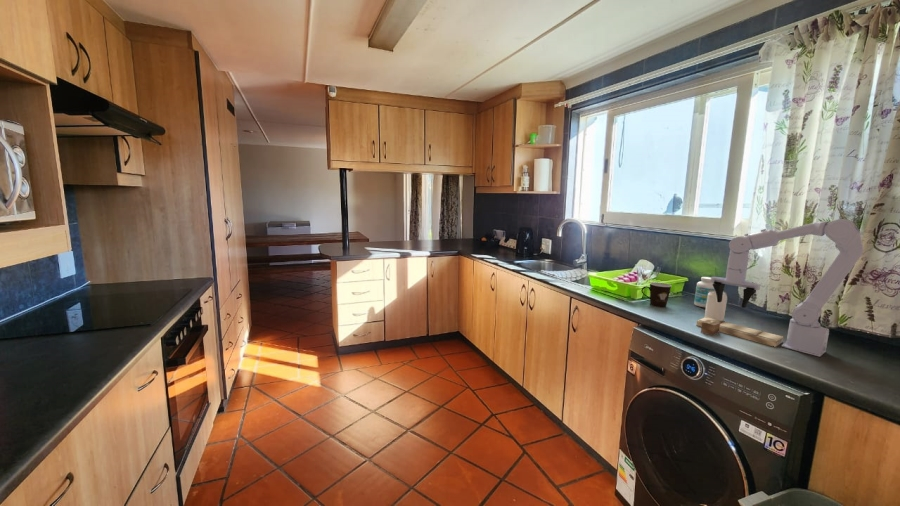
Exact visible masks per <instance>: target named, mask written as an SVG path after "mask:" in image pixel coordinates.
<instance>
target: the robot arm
mask: <svg viewBox="0 0 900 506" xmlns="http://www.w3.org/2000/svg"><path fill="white" fill-rule="evenodd" d="M808 235H812V236H818V237H823V236H824V235H826V237H827V238H828V239H830V240H831V241H832V242H833V243H834V244H835V246H836V248H837V249H838V251H839V253H838V255H837V256H836V257H835V259H834V260H833V261H832V263H831V264H830V266H829V267H828V268H827V270H826V271H825V273H823V275H822V276H821V278H820V279H819V280H818V282H817V283H816V285H815V286H814V287H813V289H812V290H811V292H810V293H809V295H808V296H807V297H806V299H805V300H803V301H802V302H799V303H798V304H797V305H796V306H795V308H793V309H792V311H791V316H792V318H790V319H789V325H788V330H787V337H786V341H785V342H784V343H783V344H781V347H782V348H785V349H789V350H793V351H796V352H800V353H804V354H808V355H811V356H815V357H819V358H820V357H822V356H823V354H825V353H826V351H827V348H828V347H827V345H828V339H829V335H830V329H829V328H826V327H823V326H821V323H820V322H819V319H820V317H821V316H822V311H823V308H824V306H825V305H826V304H827V302H828V301H829V299H830V298H831V296H833V295H834V292H836V290H837V289H838V287H839V286H840V285H841V284H842V282H843V280H844V279H845V278H846V277H847V275H848V274H849V273H850V272H851V270H852V269H853V267H855V265H856V264H857V262H858V261H859V260H860V258H861V257H862V256H863V254H864V251H865V249H864V245H863V241H862V236H861V231H860V229H859V228H858V227H857V225H856V224H855V222H853V221H852V220H850V219H848V218H847V219H846V218H838V219H835V220H826V221H825V220H824V221H816V222H811V223H807V224H803V225H799V226H795V227H791V228H788V229H783V230H778V231H775V230H773V229H766V228H764V229H763V228H762V229H760V231H758V232H754V233H750V234H749V233H744V235H743V236H736V237H734V238H732V239H731V240H730V241H729V243H728V247H729V249H730V250H729V255H728V259H727V266H726V274H725V277H718V276H711V277H710V278H711V282H713V283H714V284H713V287H714V289H715V292H716V295H717V302H722V295H723V292H724V290H725V285H728V286H733V287H734V286H735V287H740V288H744V289H743V297H742V303H741V308H742V309H744V308H746V307H747V305H748V303H749V301H750V299H751V298H752V297H753V295H754V294H755V293H756V292H757V291H760V289H761V284H760V283H754V282H751V281H747V280H746V277H747V272H748V271H747V270H748V265H749V254H750V250H752V251H754V250H760V249H764V248H769V247H774V246H777V244H778V243H779V242H780V241H783V240H789V239H793V238H798V237H803V236H808Z"/></svg>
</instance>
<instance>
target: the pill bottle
mask: <svg viewBox="0 0 900 506" xmlns="http://www.w3.org/2000/svg"><path fill="white" fill-rule="evenodd" d="M700 280H701V281H698V282H696V287H695V294H694V300H693V301H694V302H693V303H694V305H695V306H696V307H700V308H704V309H706V303H707V296H708V293H709V292H710V290H715V289H714V287H713V284H714V282H711V277H710V276H701V278H700Z"/></svg>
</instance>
